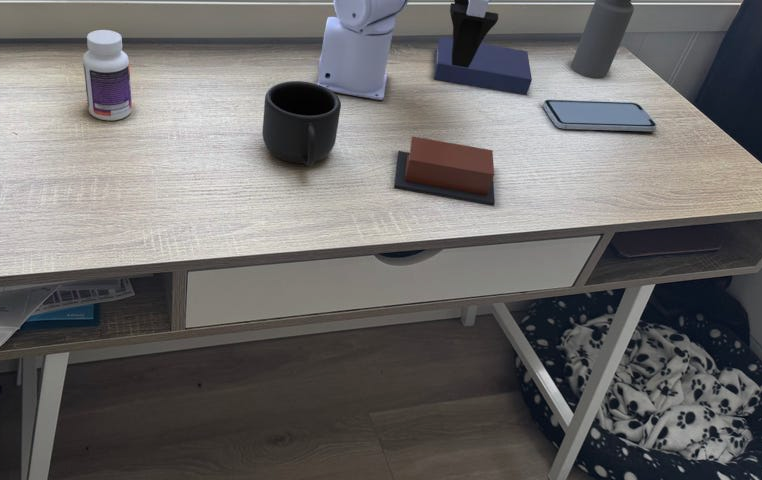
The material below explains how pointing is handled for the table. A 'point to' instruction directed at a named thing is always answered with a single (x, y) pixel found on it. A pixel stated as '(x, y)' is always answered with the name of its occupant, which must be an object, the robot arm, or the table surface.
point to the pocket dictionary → (450, 165)
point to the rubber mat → (436, 190)
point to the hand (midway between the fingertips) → (460, 52)
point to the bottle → (602, 37)
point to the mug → (300, 121)
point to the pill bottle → (107, 76)
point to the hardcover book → (485, 68)
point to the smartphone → (599, 115)
